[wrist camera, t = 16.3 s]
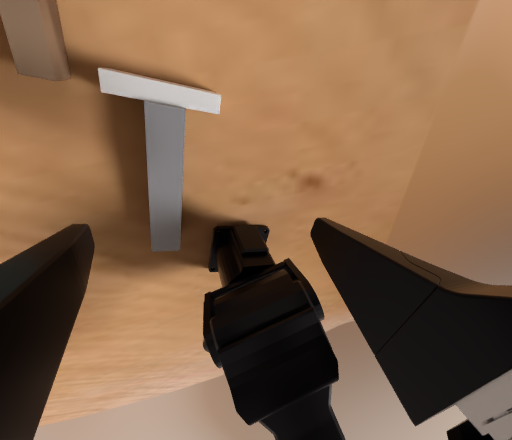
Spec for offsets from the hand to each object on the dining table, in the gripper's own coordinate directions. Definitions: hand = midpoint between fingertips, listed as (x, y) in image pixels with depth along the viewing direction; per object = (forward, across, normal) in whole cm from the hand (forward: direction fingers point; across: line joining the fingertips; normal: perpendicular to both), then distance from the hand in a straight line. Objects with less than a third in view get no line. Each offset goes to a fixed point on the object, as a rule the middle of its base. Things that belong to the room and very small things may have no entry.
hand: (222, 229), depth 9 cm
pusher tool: (+12, +2, +3) cm, 13 cm away
